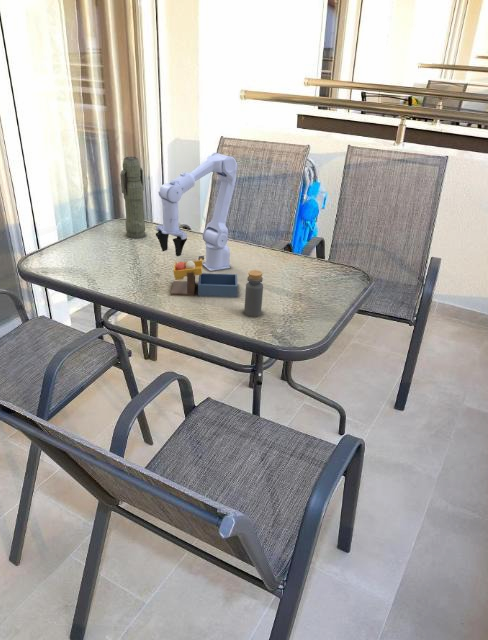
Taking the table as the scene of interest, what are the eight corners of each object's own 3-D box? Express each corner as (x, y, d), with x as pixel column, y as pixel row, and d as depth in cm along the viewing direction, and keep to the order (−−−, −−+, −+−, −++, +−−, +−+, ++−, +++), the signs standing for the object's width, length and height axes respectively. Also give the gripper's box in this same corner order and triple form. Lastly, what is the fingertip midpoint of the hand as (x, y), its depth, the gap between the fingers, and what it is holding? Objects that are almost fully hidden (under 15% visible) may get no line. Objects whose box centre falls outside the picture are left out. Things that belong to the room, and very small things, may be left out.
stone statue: (120, 236, 239) (113, 158, 220) (137, 230, 247) (132, 154, 229) (134, 240, 235) (129, 161, 216) (151, 234, 243) (147, 157, 225)
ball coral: (184, 268, 189) (182, 259, 187) (187, 271, 186) (186, 262, 184) (175, 271, 188) (173, 262, 186) (178, 274, 185) (177, 265, 183)
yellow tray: (175, 280, 184) (173, 270, 182) (178, 265, 197) (176, 255, 195) (203, 277, 184) (202, 267, 182) (204, 262, 197) (203, 252, 194)
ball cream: (194, 267, 189) (190, 258, 187) (198, 269, 186) (194, 260, 184) (186, 271, 188) (182, 262, 186) (189, 273, 185) (186, 264, 183)
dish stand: (171, 295, 186) (170, 272, 181) (173, 282, 195) (173, 261, 191) (193, 295, 186) (193, 273, 181) (195, 283, 196) (195, 262, 191)
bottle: (243, 309, 178) (245, 269, 170) (259, 309, 179) (263, 269, 171) (245, 316, 173) (247, 276, 165) (262, 316, 174) (265, 276, 166)
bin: (198, 296, 186) (198, 284, 184) (199, 283, 196) (199, 272, 193) (237, 297, 187) (237, 286, 184) (236, 284, 196) (236, 274, 194)
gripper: (149, 215, 188) (151, 250, 195) (176, 224, 180) (177, 260, 188) (163, 212, 193) (164, 246, 200) (190, 220, 185) (190, 255, 192)
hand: (171, 253), depth 194 cm, fingers open, 7 cm apart
